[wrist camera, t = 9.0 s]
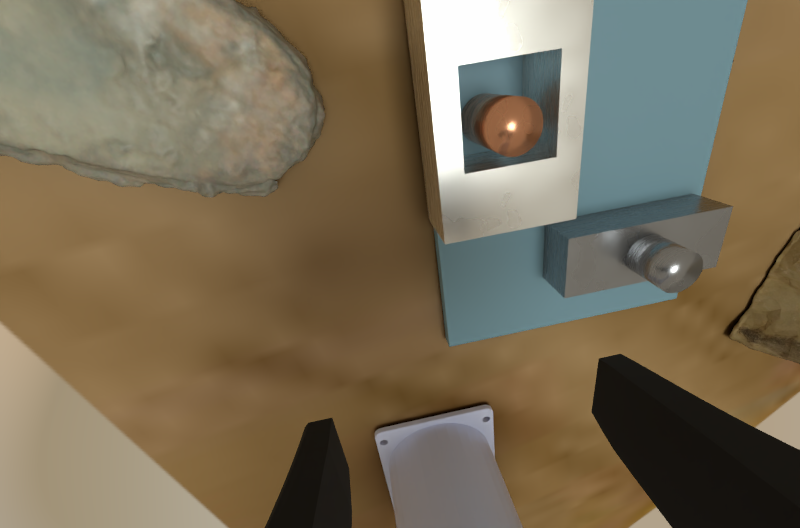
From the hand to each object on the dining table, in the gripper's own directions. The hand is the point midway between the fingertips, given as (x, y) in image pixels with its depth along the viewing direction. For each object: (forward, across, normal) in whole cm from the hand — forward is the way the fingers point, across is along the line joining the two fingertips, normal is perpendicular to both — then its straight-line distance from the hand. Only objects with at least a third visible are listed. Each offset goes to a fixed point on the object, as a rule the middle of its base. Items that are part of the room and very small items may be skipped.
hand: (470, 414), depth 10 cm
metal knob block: (+10, -11, +1) cm, 15 cm away
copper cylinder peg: (+10, -4, -6) cm, 13 cm away
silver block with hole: (+10, -4, -6) cm, 12 cm away
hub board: (+10, -8, -2) cm, 14 cm away
